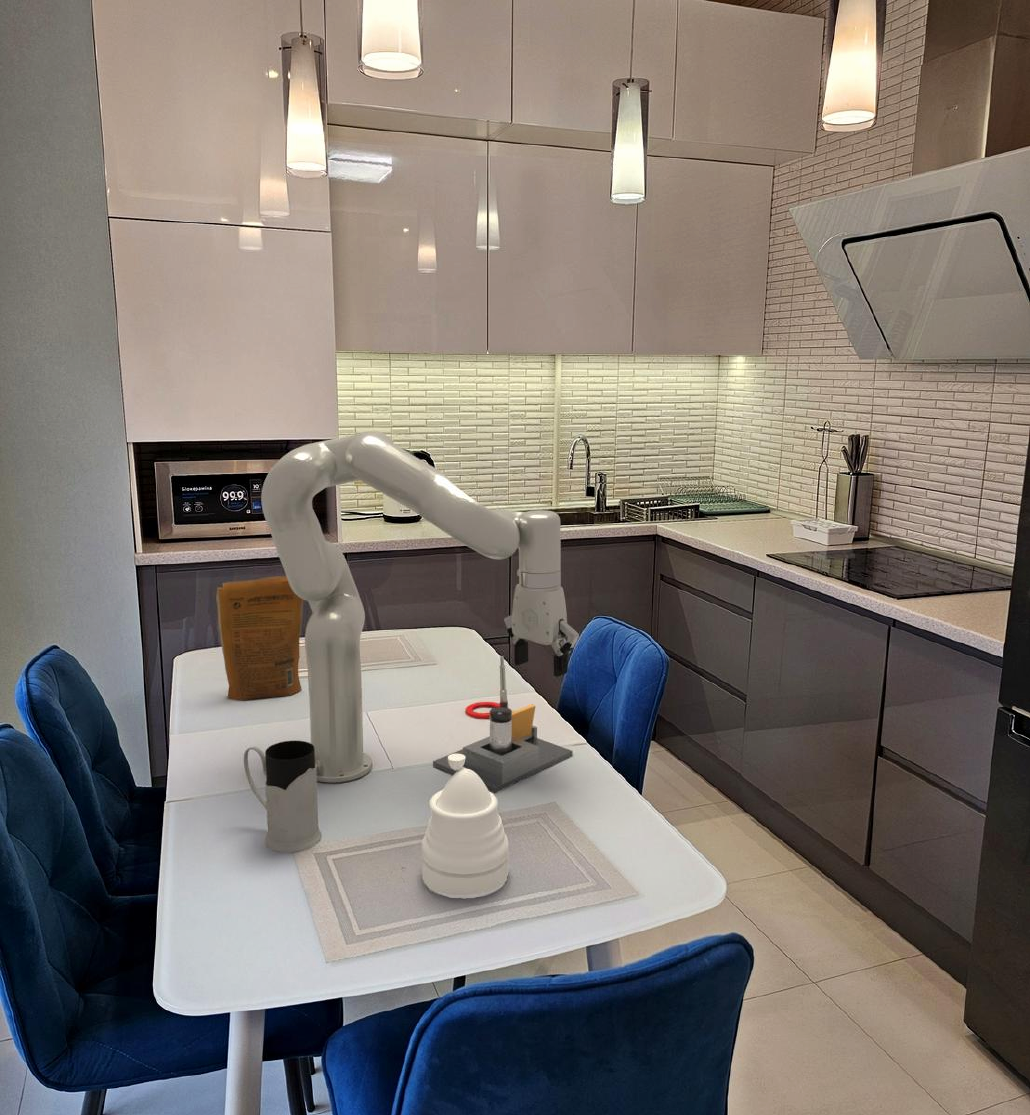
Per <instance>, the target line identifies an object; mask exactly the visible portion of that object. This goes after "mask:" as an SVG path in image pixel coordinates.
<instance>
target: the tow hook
mask: <svg viewBox="0 0 1030 1115" xmlns="http://www.w3.org/2000/svg"><path fill="white" fill-rule="evenodd" d="M504 658H505V657H504V655H501V656H500V657H499V659H500V660H499V662H500V665H499V681H500V682H499V684H500V686H499V687H500V690H499V699H500V700H499V702H495V701H479V702H475V703H471V704H469V705H468V706H467V707H465V714H466V716H468V717H470V718H473V719H482V720H483V719H490V711H489V712H477V711H474V710H477V709H480V708H491V709H493V708H497V707H505V708H509V702H508V700H509V699H508V690H507V685H506V684H507V682H506V665H505V660H504Z"/></svg>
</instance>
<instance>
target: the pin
mask: <svg viewBox="0 0 1030 1115" xmlns="http://www.w3.org/2000/svg"><path fill="white" fill-rule="evenodd" d="M489 712H490V718H489V736H490V751H491V752H493V753H496V754H498V755H501V756H503V755H505V754H507V753H510V752H511V732H512V712H513V710H512V709H510V708H509V707H508V708H505V707H497V708H491V709H490V710H489Z"/></svg>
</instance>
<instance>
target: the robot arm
mask: <svg viewBox="0 0 1030 1115" xmlns="http://www.w3.org/2000/svg"><path fill="white" fill-rule="evenodd" d="M358 481H361V482H362V483H364V484H366V485H368V487H370V488H372V489H374V490H376V491H378V492H379V493H382V494H383V495H385V496H387V497H388V498H390V499H392V500H393V501H396V502H397V503H399V504H401V506H404V507H406V508H408V509H409V510H410V511H412V512H414V513H416V514H417V515H419V517H421V518H422V519H424V520H425V521H427V522H428V523H430V524H432V525H433V526H435V527H437V528H438V529H440V530H441V531H442V532H444V533H445V534H447V535H448V536H450V537H451V538H453V539H454V540H456V541H458V542H460V543H461V544H462V545H465V546H466V547H468V548H469V549H472V550H473V551H475V552H477V553H479V554H480V555H482V556H484V557H486V558H488V559H493V560H504V559H507V558H509V557H512V555H514V553H516V551H517V550H518V560H519V561H518V564H519V565H518V567H519V568H518V569H517V571H516V575H517V577H519V580H518V583H517V584H516V585H515V589H514V594H513V600H512V613H511V614H510V615H508V616H507V617H506V616H505V617H504V619H503V621H504V624H505V627H506V628H507V630H506V631H507V634H508V635H509V637H510V638H511V644H513V646H514V647H513V648H514V650H513V651H514V652H513V654H514V658H513V659H514V665H515V666H520V665H523V664H525V663H526V664H527V663H528V662H529V642H532V643H535V644H540V645H545V646H549V645H551V647H552V649H553V650H554V652H555V655H553V676H554V677H555V678H556V677H557V678H558V677H562V676H563V675H565V674H568V672H569V671H568V667H569V665H568V663H569V660H568V659H569V658H568V656H569V654H570V653H571V651H572V650H573V649H574V648H575V647H576V644H577V641H578V639H579V638H580V634H579V632H577V631H576V630H575V629H574V628H573V627H572V626H571V625H569V624H568V616H567V605H566V598H565V592H564V588H563V587H562V586H561V585H562V584H561V582H562V581H561V580H562V579H561V578H562V575H561V573H562V572H561V570H562V569H561V568H562V567H561V566H562V565H561V560H562V558H561V557H562V556H561V552H562V550H561V546H562V545H561V540H562V539H561V538H562V537H561V536H562V535H561V534H562V533H561V518H560V516H559V514H558V513H557V512H555V511H551V510H544V509H543V510H539V509H537V510H529V511H517V510H516V511H515V510H509V509H507V510H506V509H501V508H500V509H496V508H495V509H490V508H488V507H486V506H484V505H483V504H481V503H479V502H478V501H477V500H475V499H474V498H472V497H471V496H469V495H467V494H466V493H465V492H463V490H461V489H460V488H459V487H458V486H457V485H455V483H454V482H453V481H452V480H451V478H449V477H448V476H447V475H446V474H444V472H442V471H440V470H439V469H437V468H436V467H434V466H432V465H431V464H429V463H427V462H425V461H423V460H422V459H420V458H418V457H416V456H415V455H413V454H411V453H410V452H408V451H407V450H405V449H403V448H402V447H400V446H398V445H397V444H395V443H394V441H393V440H392V438H390V437H389V436H388V435H387V434H385V433H383V432H381V431H377V430H368V431H363V432H360V433H357V434H352V435H347V436H343V437H337V438H332V439H329V440H322V441H318V442H317V441H316V442H313V443H307V444H303V445H301V446H300V447H297V448H295V449H292V450H290V451H289V452H288V453H286V454H285V455H283V456H282V457H281V458H280V459H279V460H278V461H277V462H276V463H275V464H274V465H273V466H272V467H271V469H270V471H269V472H268V474H266V478H265V480H264V481H263V485H262V488H261V508H262V512H263V516H264V519H265V521H266V524H267V527H268V530H269V532H270V534H271V538H272V541H273V544H274V546H275V550H276V552H277V555H278V558H279V561H280V562H281V565H282V567H283V570H284V573H285V576H286V577H287V580H288V582H289V585H290V587H291V589H292V590H293V592H294V593H295V594H296V595H297V596H298V597H299V598H301V599H303V601H306V602H308V604H309V607H310V609H311V612H312V614H311V615H310V616H309V619H308V622H307V624H306V628H305V632H304V633H305V634H304V648H305V654H306V656H305V657H306V662H307V675H308V676H307V677H308V696H309V697H308V698H309V700H308V701H309V726H310V727H309V729H310V743H311V744H312V745H313V746H314V748H315V768H316V772H317V782H322V783H332V784H333V783H345V782H350V781H354V780H357V779H359V778H362V777H364V776H365V775H367V774H369V772H370V771H371V770H372V767H373V759H372V758H371V756H370V755H368V754H367V753H366V752H364V724H363V721H364V720H363V686H362V663H361V662H362V661H361V645H360V644H361V635H362V633H363V629H364V626H365V622H366V620H365V619H366V615H365V614H366V613H365V609H364V605H363V601H362V600H361V597H360V593H359V591H358V588H357V585H356V583H355V581H354V577H353V575H352V572H351V570H350V567H349V564H348V561H347V559H346V558H345V555H344V553H342V551H341V549H339V547H338V546H336V545H335V544H334V543H332V542H331V541H328V540H326V538H325V535H324V533H323V530H322V527H321V524H320V522H319V519H318V517H317V515H316V513H315V511H314V509H313V508H314V507H313V499H314V497H315V495H317V494H318V493H320V492H321V491H323V490H324V489H326V488H330V487H334V486H339V485H345V484H349V483H353V482H358ZM566 638H567V640H566Z"/></svg>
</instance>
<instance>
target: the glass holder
mask: <svg viewBox="0 0 1030 1115" xmlns="http://www.w3.org/2000/svg"><path fill="white" fill-rule="evenodd" d="M250 750H253V751H255V752H256V753H257V754H258V755H259V757H260V759H261V766H262V772H263V775H264V776H265V777H266V781H265V799H266V800H265V799H264V797H263V796H262V794H261V793H260V791H259V790H258V788H257V787H256V785H255V783H254V782H255V781H254V780H253V777H252V775H251V771H250V768H249V752H250ZM264 752H265V753H264ZM264 752H263V751H262V750H261V748H259V747H258V746H250V747H248V748H246V750H245V751H244V753H243V766H244V767H243V768H244V772H245V776H246V779H247V782H248V784H249V787H250V788H251V791H252V792H253V794H254V796H256V798H257V799H258V801H259V802H260V804H262V806H263V807H264V808H265V810H266V819H267V820H266V822H267V823H266V824H267V835H266V837H265V841H264V843H265V845H266V847H267V848H268V849H270V850H272V851H274V852H279V853H284V854H285V853H298V852H303V851H305V850H308V849H311V848H312V847H314V846H316V845H317V844H319V842H320V841H321V839H322V836H323V835H322V832H321V830H320V827H319V806H318V804H319V803H318V781H317V772H316V768H315V748H314V746H313V745H312V744H311V742H308V741H304V740H285V741H280V742H276V743H273V744H272V745H270V746H268V747H267V748H266V749H265V751H264Z"/></svg>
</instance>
